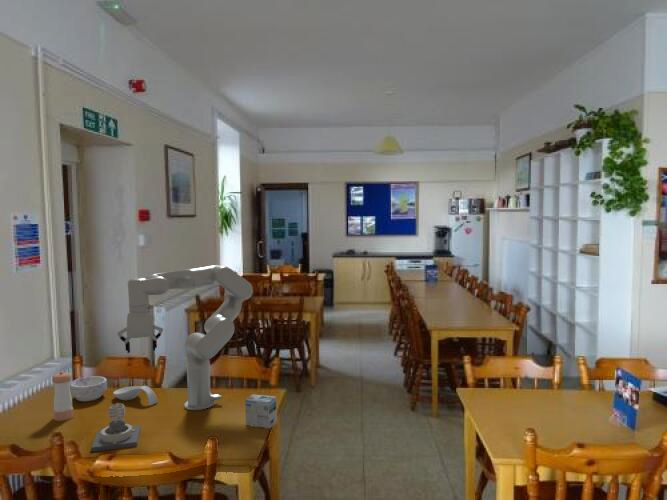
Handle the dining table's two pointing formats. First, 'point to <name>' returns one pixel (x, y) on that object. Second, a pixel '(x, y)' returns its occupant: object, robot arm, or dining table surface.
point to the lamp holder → (116, 438)
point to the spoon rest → (135, 393)
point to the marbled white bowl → (88, 388)
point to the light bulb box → (261, 411)
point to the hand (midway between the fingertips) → (141, 350)
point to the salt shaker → (62, 397)
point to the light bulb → (119, 423)
